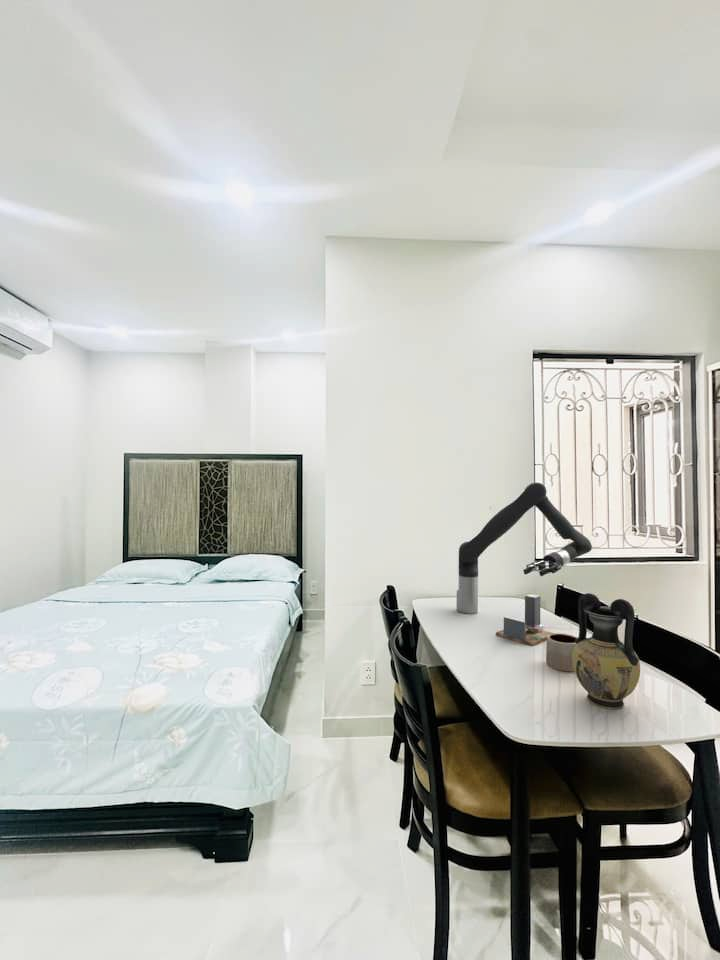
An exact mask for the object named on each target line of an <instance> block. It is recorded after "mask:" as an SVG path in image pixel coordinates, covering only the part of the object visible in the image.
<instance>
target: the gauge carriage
mask: <svg viewBox="0 0 720 960" xmlns="http://www.w3.org/2000/svg"><path fill="white" fill-rule="evenodd" d="M541 599H542V597H541V595H537V594H532V593H531V594H526V595H525V596H524V621H525V622H526V632H527V631H529V632H533V633H539V632H540V631H542V630H544V625H542V624H541V601H542V600H541Z"/></svg>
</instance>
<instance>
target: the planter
mask: <svg viewBox="0 0 720 960" xmlns="http://www.w3.org/2000/svg"><path fill="white" fill-rule="evenodd" d="M552 633H553V634H548V635H547V640H546V649H545V650H546V653H545V662H546V663H545V664H546V665H548V667H550V668H551V669H553V670H556V671H560V672H565V673H575V671H574V668H573V661H572V655H573V650H574V648H575V646H576V645H577V644H576V643H575V640H576V639H577V638H578V637H577V636H575V635H572V634H568V633H567V634H566V633H559V632H558V633H557V632H555V633H554V632H552Z"/></svg>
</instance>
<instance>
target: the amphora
mask: <svg viewBox="0 0 720 960" xmlns="http://www.w3.org/2000/svg"><path fill="white" fill-rule="evenodd" d="M577 602H578V605H577V609H578V637H577V639H576V640H575V643H576V644H577V645H576V646H575V648H574V650H573V655H572V661H573V668H574V671H575V672H574V673H575V676H576V678H577V681H578V682H579V684H580V685H581V686H582V688H583V689H584V690H585V691H586V692H587V696H586V699H587V700H588V701H589V702H590V703H591V704H593V705H595V706H597V707H600V708H603V709H608V710H609V709H610V710H619V709H618V708H620V709H622V708H623V707H624V706H625V702H624V699H626V698H627V697H629V696H630V695H631V694H632V693H634V692H633V691H634V690H635V689H636V687H637V685H638V683H639V679H640V677H641V662H640V658H639V656H638V655H637V653H636V651H635V650H634V647H633V635H634V623H635V610H634V606H633V605H632V604H631V602H629V601H628V600H625V599H622V598H618V599H615V600H613V601H612V602H611V604H610V606H603V605H602V606H601V601H600V599H599V597H598V596H597V595H595V594H593V593H588V592H587V593H584V594H581V596H580V597H579V599H578V601H577ZM587 614H588V619H589V621H590V622H591V623H592V625H593V631H592V635H591V636H590V637H587V631H588V625H587V622H588V621H587ZM624 620H625V625H624V637H623V641H621V640H620V637H619V633H618V629H619V627H620V626H621V625H622V624H623V622H624ZM621 707H622V708H621Z"/></svg>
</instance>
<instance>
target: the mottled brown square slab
mask: <svg viewBox="0 0 720 960" xmlns="http://www.w3.org/2000/svg"><path fill="white" fill-rule="evenodd" d="M553 633H554V632H551V631H546V630H544V629H543V630H542V631H540V632H539V633H533V632H529V631H527V632H526V640H521V639H517V638H514V637H511V636H507V635H504V629H501V630H499V631H496V632H495V636H498V637H500V638H504V639H507V640H511V641H515V642H517V643H520V644H525V645H528V646H531V647H533V646H536V645H539V644H541V643H543V642H547V635H548V634H553Z"/></svg>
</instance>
